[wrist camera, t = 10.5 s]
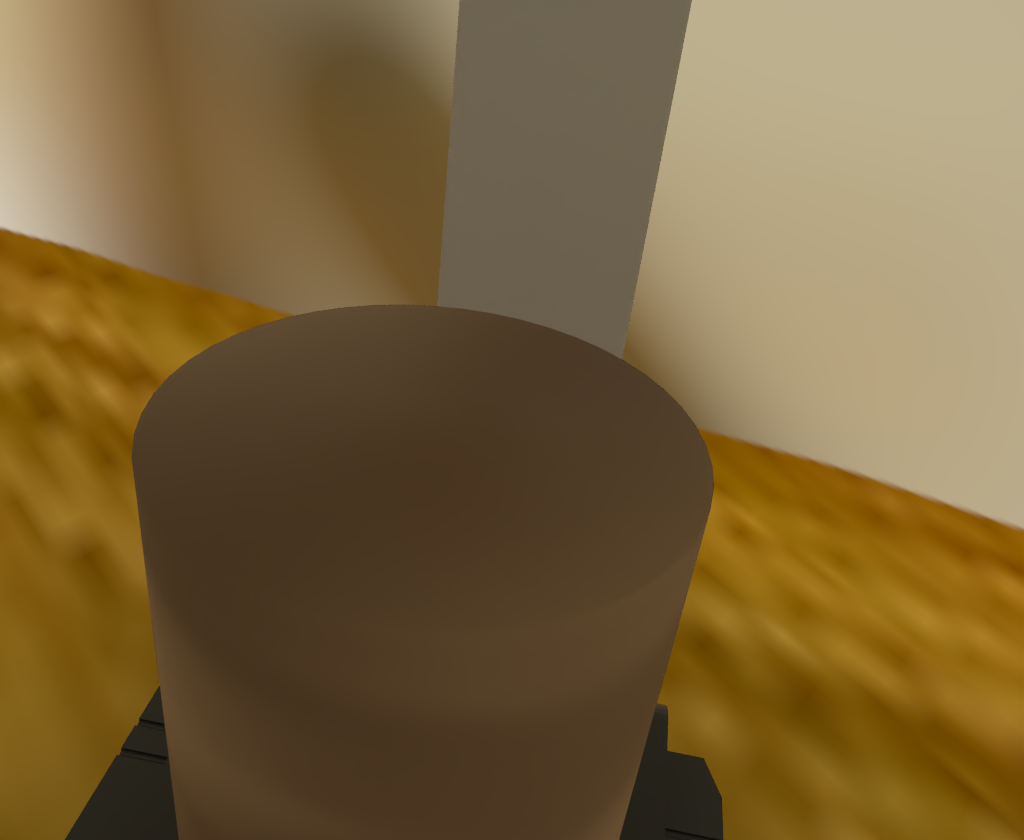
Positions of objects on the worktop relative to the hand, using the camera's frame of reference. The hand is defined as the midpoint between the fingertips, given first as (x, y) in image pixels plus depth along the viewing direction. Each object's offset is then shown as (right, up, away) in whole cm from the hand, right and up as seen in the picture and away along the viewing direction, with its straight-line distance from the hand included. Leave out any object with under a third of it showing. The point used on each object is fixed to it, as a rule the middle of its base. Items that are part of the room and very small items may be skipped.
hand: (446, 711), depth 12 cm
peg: (-1, -8, +2) cm, 8 cm away
